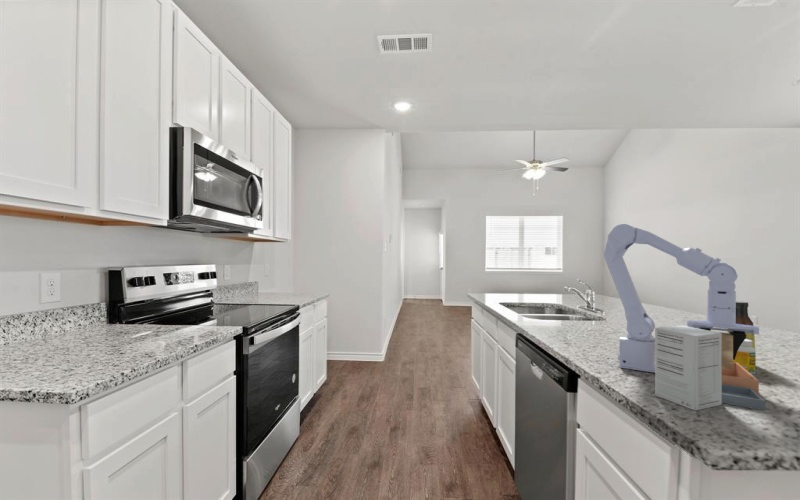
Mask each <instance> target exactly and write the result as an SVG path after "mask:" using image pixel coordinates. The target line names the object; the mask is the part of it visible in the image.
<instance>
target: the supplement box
mask: <svg viewBox="0 0 800 500" xmlns="http://www.w3.org/2000/svg"><path fill="white" fill-rule="evenodd" d="M714 331H715V330H711V331H709V330H704V329H698V328H693V327H688V326H687V325H680V324H679V325H670V326H668V325H667V326H661V327H660V326H659V327H655V328H654V338H655V373H654V378H655V379H654V381H655V382H654V383H655V384H654V386H655V387H654V388H655V389H654V390H655V391H654V392H655V393H654V394H655V396H657V397H658V398H662V399H664V400H667V401H670V402H671V403H675V404H677V405H679V406H683V407H684V408H688V409H691V410H692V411H695V412H697V411H700V410H704V409H709V408H712V407H713V408H714V407H718V406H722V404H723V403H722V373H721V372H722V366H721V361H722V334H721V333H719V332H720V331H715V332H714Z"/></svg>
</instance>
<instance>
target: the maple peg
mask: <svg viewBox="0 0 800 500" xmlns="http://www.w3.org/2000/svg"><path fill="white" fill-rule="evenodd" d="M713 331H714V332H716V330H713ZM718 332H719V333H721V334H722V361H721V366H722V368H724V369H732V370H733V335H731V334H730V333H728V332H727V331H718Z"/></svg>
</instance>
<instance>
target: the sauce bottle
mask: <svg viewBox="0 0 800 500" xmlns="http://www.w3.org/2000/svg"><path fill="white" fill-rule="evenodd" d="M748 308H749V302H748V301H741V300H736V324H742V325H751V326H754V322H753V321H752V319H751V318H750V316H749V314H748V313H749V312H748V311H749V310H748ZM732 330H733V329H732ZM729 332H730V331H727V333H729ZM745 334H746V339H748V340H752V344H753V345H752V346H751V347H752V348H754V349H755V350H756V339H755V337H756V336H755V334H752V333H745Z"/></svg>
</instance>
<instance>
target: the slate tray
mask: <svg viewBox="0 0 800 500" xmlns="http://www.w3.org/2000/svg"><path fill="white" fill-rule="evenodd" d="M722 404H726V405H732V406H737V407H738V406H739V407H743V408H745V407H746V408H749V409H755V410H763V411H765V410H766V407H765V406H766V401H765V399H763V398H762V396H760V395H758V394H757V393H756V392H755V391H754V390H753V389H752V388H746V387H739V386H733V385H726V384H722Z"/></svg>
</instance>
